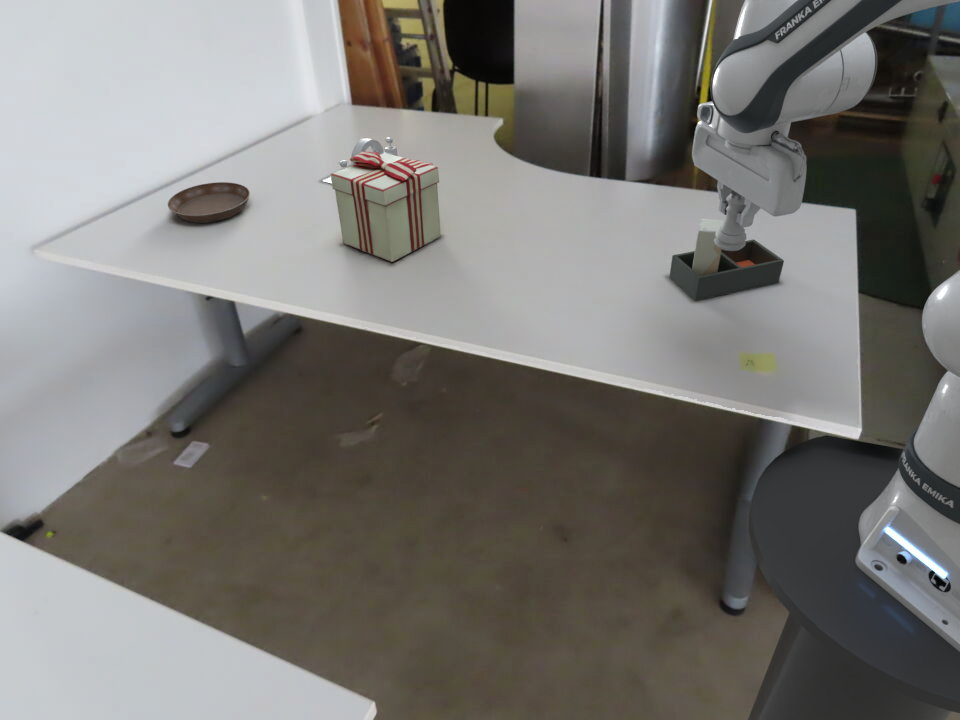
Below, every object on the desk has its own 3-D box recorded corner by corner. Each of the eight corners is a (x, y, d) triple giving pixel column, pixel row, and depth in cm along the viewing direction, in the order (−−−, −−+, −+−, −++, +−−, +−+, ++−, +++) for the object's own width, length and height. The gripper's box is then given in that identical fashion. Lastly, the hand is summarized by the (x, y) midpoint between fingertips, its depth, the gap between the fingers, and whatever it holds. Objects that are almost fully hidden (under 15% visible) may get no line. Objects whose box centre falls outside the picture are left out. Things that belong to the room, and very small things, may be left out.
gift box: (454, 229, 146) (449, 148, 136) (397, 266, 134) (387, 180, 124) (391, 211, 154) (382, 134, 144) (333, 245, 142) (318, 163, 132)
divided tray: (778, 283, 124) (784, 260, 121) (695, 300, 120) (698, 278, 118) (749, 260, 131) (753, 239, 128) (669, 277, 127) (672, 255, 124)
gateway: (346, 186, 166) (341, 153, 161) (339, 184, 167) (334, 152, 162) (397, 159, 179) (394, 128, 174) (390, 158, 180) (387, 127, 175)
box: (713, 291, 122) (724, 233, 115) (688, 288, 123) (697, 230, 116) (716, 276, 125) (726, 219, 119) (691, 273, 127) (700, 217, 120)
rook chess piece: (724, 234, 104) (735, 183, 99) (751, 245, 101) (763, 193, 96) (706, 244, 102) (716, 192, 97) (733, 255, 99) (744, 202, 94)
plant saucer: (267, 207, 158) (264, 194, 156) (196, 234, 148) (191, 221, 146) (227, 188, 168) (224, 175, 167) (157, 212, 158) (153, 199, 156)
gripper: (830, 143, 84) (801, 247, 92) (730, 96, 99) (713, 188, 107) (785, 151, 82) (760, 255, 90) (691, 102, 98) (677, 194, 106)
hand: (734, 218), depth 99 cm, fingers closed on rook chess piece, 3 cm apart
